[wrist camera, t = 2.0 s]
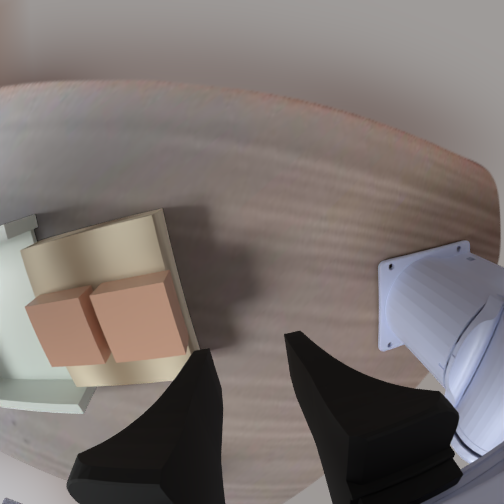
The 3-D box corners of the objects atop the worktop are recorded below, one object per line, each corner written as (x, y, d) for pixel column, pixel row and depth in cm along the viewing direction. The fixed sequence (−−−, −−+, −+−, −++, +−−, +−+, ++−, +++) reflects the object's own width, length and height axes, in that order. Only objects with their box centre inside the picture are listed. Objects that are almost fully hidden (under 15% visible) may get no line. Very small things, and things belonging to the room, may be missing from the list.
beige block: (162, 208, 19) (151, 215, 16) (201, 353, 22) (198, 377, 19) (41, 239, 19) (19, 250, 16) (89, 365, 22) (76, 386, 19)
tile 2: (90, 284, 17) (78, 297, 15) (114, 347, 18) (105, 363, 16) (39, 295, 17) (24, 306, 15) (63, 351, 18) (51, 367, 16)
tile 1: (169, 269, 17) (163, 282, 15) (189, 336, 18) (185, 354, 17) (101, 282, 17) (89, 295, 15) (124, 345, 18) (116, 362, 16)
